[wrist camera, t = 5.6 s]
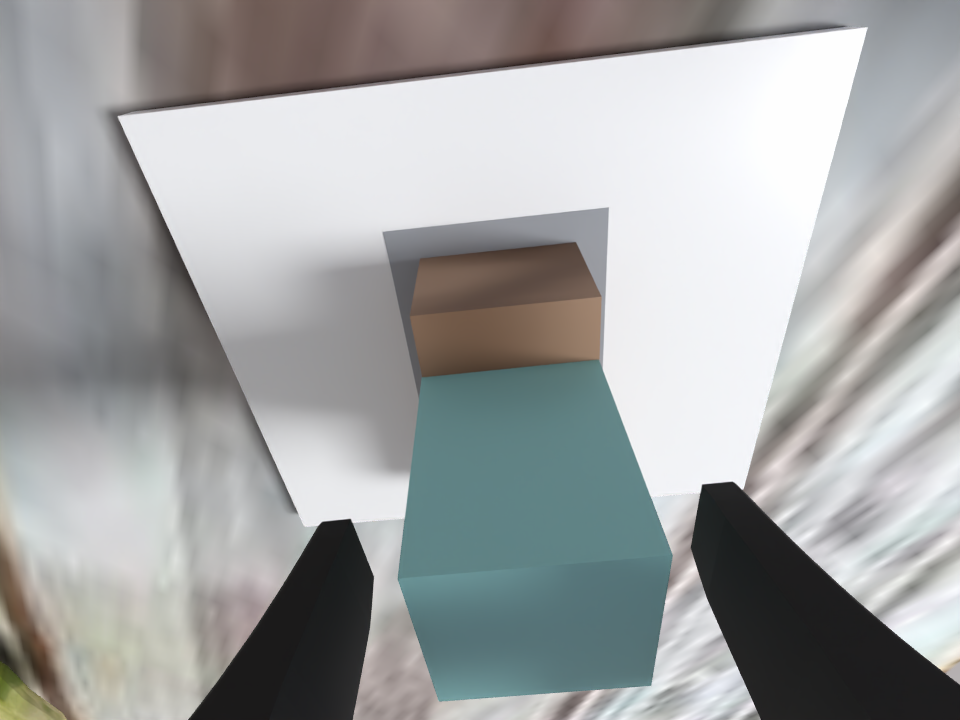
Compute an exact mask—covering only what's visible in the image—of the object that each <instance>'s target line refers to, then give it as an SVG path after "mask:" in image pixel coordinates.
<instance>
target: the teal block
mask: <svg viewBox="0 0 960 720" xmlns="http://www.w3.org/2000/svg"><path fill="white" fill-rule="evenodd" d="M672 556H673V555H672V552H671V549H670V547H669V544H668V541H667V539H666V536H665V534H664V531H663V528H662V526H661V523H660V520H659V518H658V515H657V512H656V510H655V507H654V504H653V502H652V499H651V496H650V494H649V491H648V488H647V486H646V483H645V480H644V478H643V475H642V472H641V470H640V467H639V465H638V462H637V459H636V457H635V454H634V451H633V449H632V446H631V443H630V441H629V438H628V435H627V433H626V430H625V427H624V425H623V422H622V419H621V417H620V414H619V411H618V409H617V406H616V404H615V401H614V398H613V396H612V393H611V390H610V388H609V385H608V382H607V380H606V377H605V374H604V372H603V369H602V366H601V364H600V361H599V360H590V361H580V362H570V363H560V364H550V365H540V366H530V367H521V368H511V369H501V370H491V371H481V372H471V373H461V374H451V375H442V376H432V377H422V379H421V387H420V395H419V404H418V412H417V421H416V429H415V437H414V446H413V454H412V462H411V471H410V479H409V488H408V496H407V504H406V513H405V521H404V530H403V538H402V546H401V555H400V563H399V572H398V581H399V584H400V587H401V590H402V593H403V596H404V599H405V602H406V605H407V608H408V611H409V614H410V617H411V620H412V623H413V626H414V629H415V632H416V635H417V638H418V640H419V643H420V646H421V649H422V652H423V655H424V658H425V661H426V664H427V667H428V670H429V673H430V676H431V679H432V682H433V685H434V688H435V691H436V694H437V697H438V700H439V701H453V700H466V699H479V698H493V697H506V696H520V695H533V694H546V693H560V692H573V691H587V690H600V689H613V688H627V687H640V686H651V683H652V677H653V671H654V665H655V659H656V653H657V647H658V641H659V635H660V629H661V623H662V617H663V611H664V605H665V599H666V593H667V587H668V581H669V575H670V569H671V562H672Z"/></svg>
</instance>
